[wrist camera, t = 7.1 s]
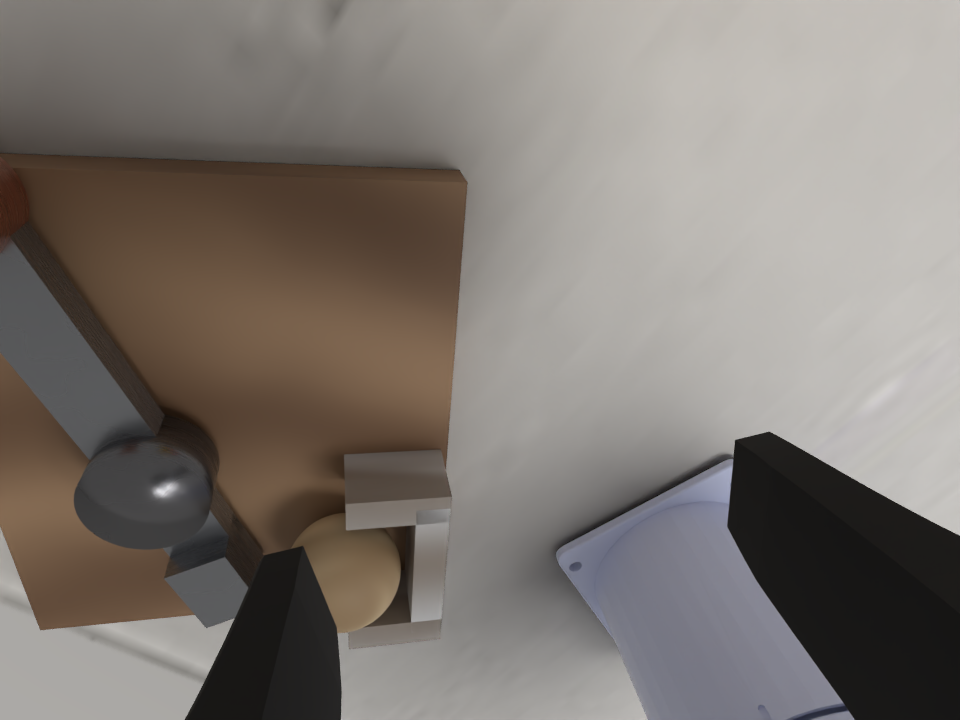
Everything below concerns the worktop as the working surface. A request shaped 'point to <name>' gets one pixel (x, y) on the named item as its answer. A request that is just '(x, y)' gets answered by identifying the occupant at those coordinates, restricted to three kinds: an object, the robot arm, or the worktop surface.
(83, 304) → the lever
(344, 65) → the worktop surface
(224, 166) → the nutcracker base
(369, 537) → the tan ball
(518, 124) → the worktop surface
